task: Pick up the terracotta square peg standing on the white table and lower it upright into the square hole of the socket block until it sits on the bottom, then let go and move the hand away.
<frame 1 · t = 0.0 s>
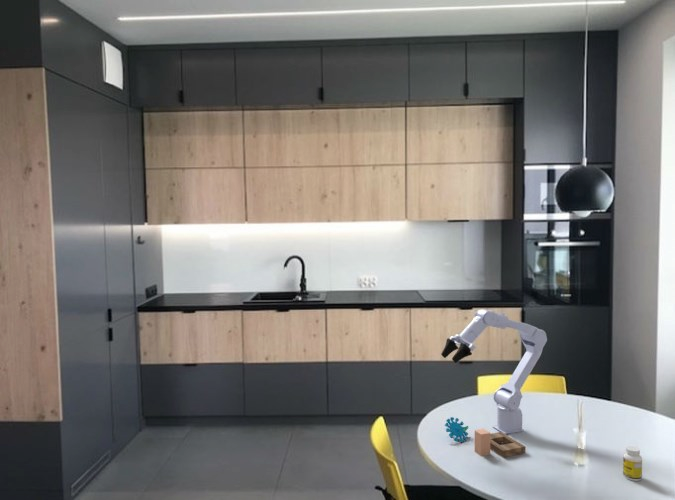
hand: (448, 358, 195), 32 cm above the table, tool tilted 50°, fingers open, 7 cm apart
socket block: (501, 447, 190), on the table
supplement bottle: (632, 477, 167), on the table
gear: (457, 439, 198), on the table
peg: (482, 452, 186), on the table
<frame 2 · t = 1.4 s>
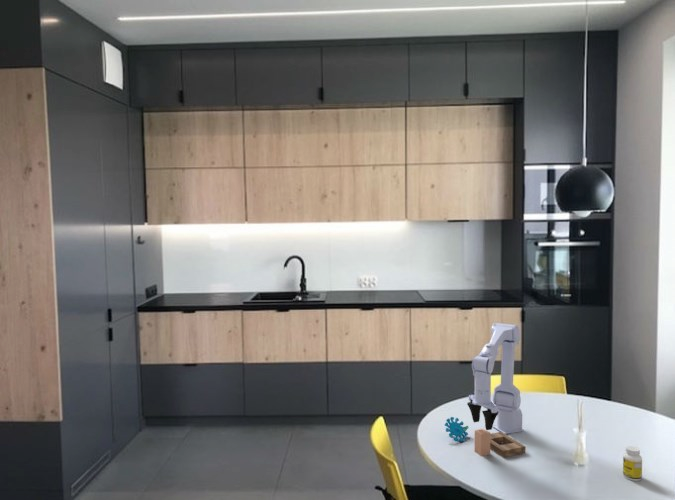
hand: (482, 425, 185), 10 cm above the table, tool pointing down, fingers open, 7 cm apart
nothing on the table moved.
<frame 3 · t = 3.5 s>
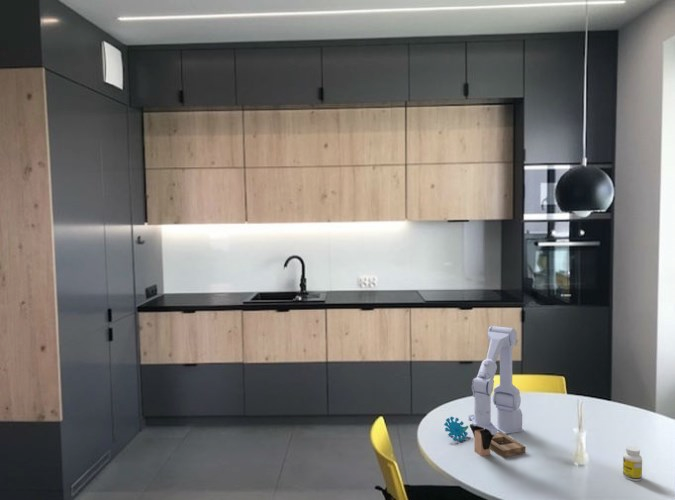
hand: (482, 446, 185), 2 cm above the table, tool pointing down, fingers closed on peg, 4 cm apart
peg: (482, 452, 186), on the table, touching gripper
everything else where it was.
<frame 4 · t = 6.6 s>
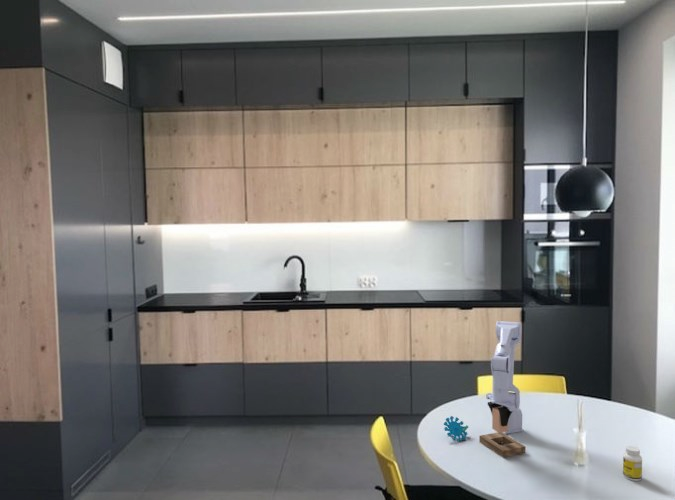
hand: (500, 423, 189), 9 cm above the table, tool pointing down, fingers closed on peg, 4 cm apart
peg: (500, 429, 189), point 7 cm above the table, touching gripper
everything else where it was.
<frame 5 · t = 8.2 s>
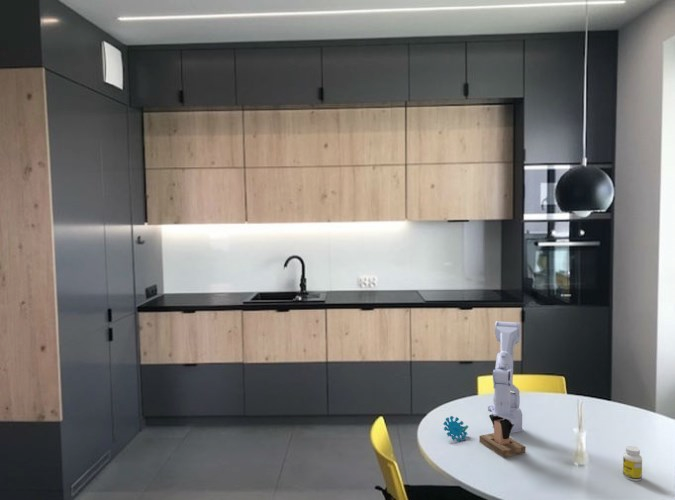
hand: (501, 436, 190), 4 cm above the table, tool pointing down, fingers closed on peg, 4 cm apart
peg: (501, 442, 190), point 2 cm above the table, touching gripper
everything else where it was.
when the fingers open (3 cm above the table, at t = 9.6 s): peg drops 1 cm, resting in socket block.
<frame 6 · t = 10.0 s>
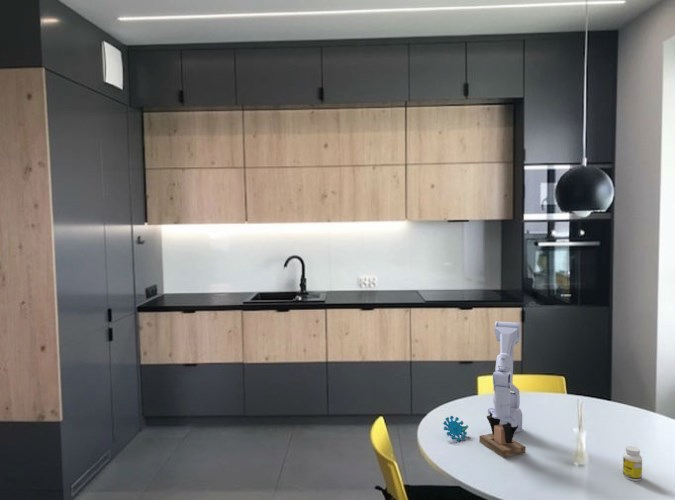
hand: (501, 438, 190), 3 cm above the table, tool pointing down, fingers open, 7 cm apart
peg: (501, 447, 190), resting in socket block
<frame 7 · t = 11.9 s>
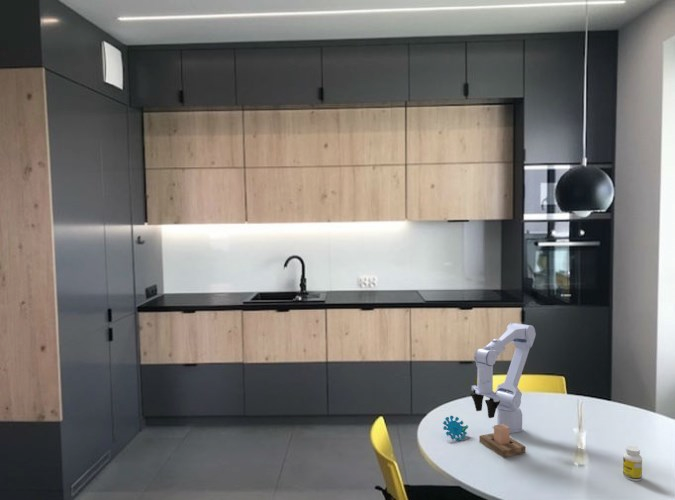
hand: (484, 414, 197), 10 cm above the table, tool pointing down, fingers open, 7 cm apart
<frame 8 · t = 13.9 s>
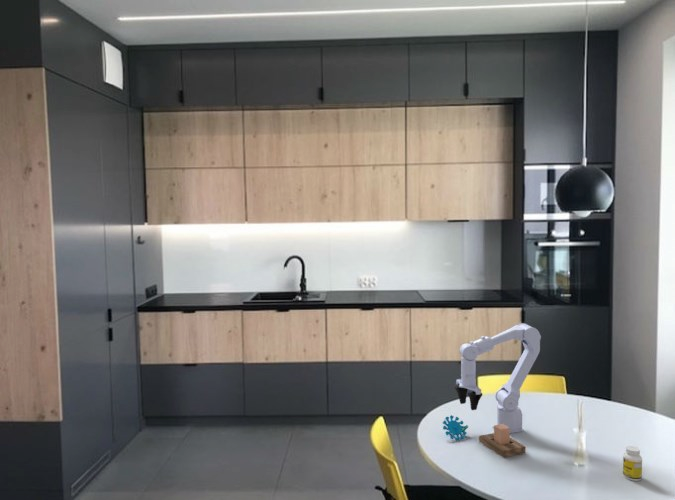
hand: (468, 406, 205), 10 cm above the table, tool pointing down, fingers open, 7 cm apart
at the end: peg 0.0 cm off-centre on the socket block, point 0.0 cm above the socket block's base; peg tilted 0°; the gripper is holding nothing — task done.
